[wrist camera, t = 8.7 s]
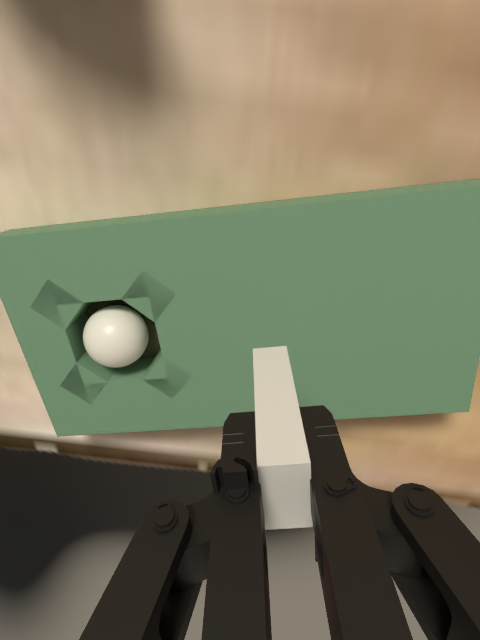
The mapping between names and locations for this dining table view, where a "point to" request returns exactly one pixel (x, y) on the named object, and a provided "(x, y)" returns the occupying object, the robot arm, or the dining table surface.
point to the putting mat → (257, 306)
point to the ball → (115, 336)
